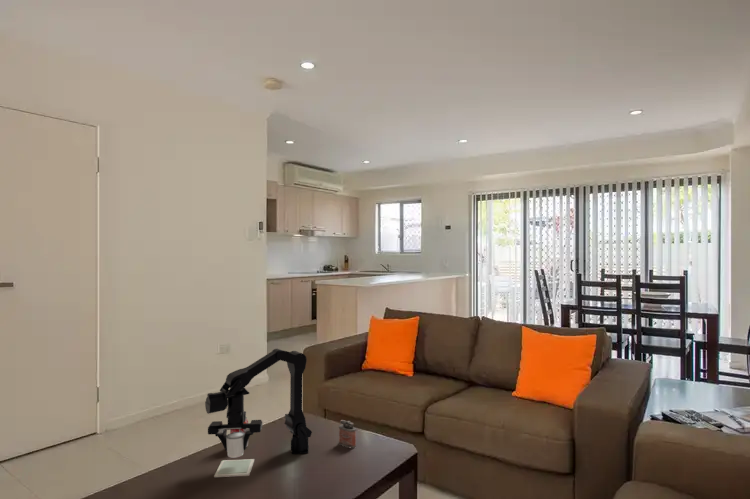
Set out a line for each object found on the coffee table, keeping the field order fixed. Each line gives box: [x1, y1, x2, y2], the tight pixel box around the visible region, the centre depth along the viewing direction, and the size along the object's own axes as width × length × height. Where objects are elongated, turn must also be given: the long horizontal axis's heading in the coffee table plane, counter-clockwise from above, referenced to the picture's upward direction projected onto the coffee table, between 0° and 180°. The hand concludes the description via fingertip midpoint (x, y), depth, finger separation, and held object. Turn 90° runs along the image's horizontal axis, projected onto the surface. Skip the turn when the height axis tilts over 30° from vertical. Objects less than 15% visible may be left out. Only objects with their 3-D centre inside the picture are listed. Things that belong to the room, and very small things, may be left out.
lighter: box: [338, 419, 357, 449], centre depth 189 cm, size 8×3×10 cm, turn 58°
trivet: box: [213, 458, 255, 478], centre depth 168 cm, size 12×12×1 cm
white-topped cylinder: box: [226, 432, 245, 459], centre depth 168 cm, size 7×7×7 cm
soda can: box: [229, 416, 249, 448], centre depth 186 cm, size 7×7×12 cm
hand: (235, 450), depth 168 cm, fingers closed on white-topped cylinder, 6 cm apart
